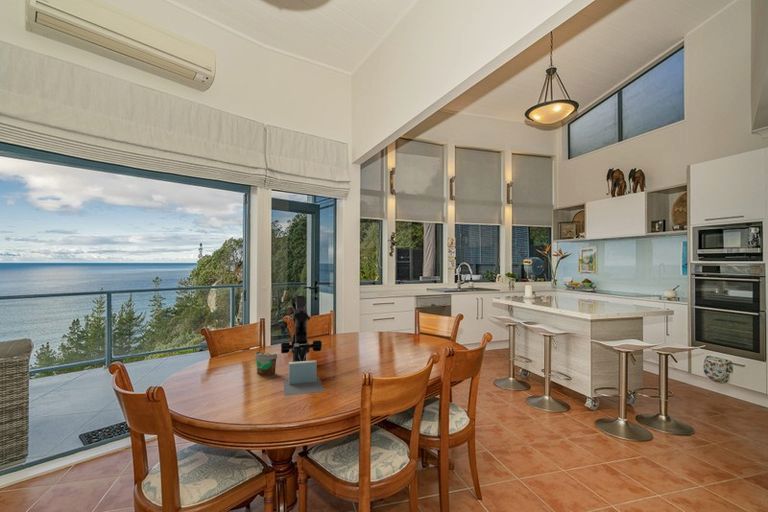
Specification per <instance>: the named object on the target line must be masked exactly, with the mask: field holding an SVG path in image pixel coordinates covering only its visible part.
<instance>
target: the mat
mask: <svg viewBox="0 0 768 512" xmlns="http://www.w3.org/2000/svg"><path fill="white" fill-rule="evenodd" d="M324 392H325V390H324V387H323V383H322V380H321V377H320V376H319V375H318V376H316V382H309V383H298V384H289V378H287V379H283V393H284V394H283V396H285V397H287V396H294V395H295V396H296V395H306V394H315V393H316V394H317V393H324Z"/></svg>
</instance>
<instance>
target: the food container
mask: <svg viewBox="0 0 768 512" xmlns="http://www.w3.org/2000/svg"><path fill="white" fill-rule="evenodd" d="M254 359H255V360H256V361H255V362H256V374H257V375H259V376H271V375H275V374H276V365H277V359H278V355H277V353H274V354H270V353H264V352H261V351H260V350H258V351H256V352H255V355H254Z"/></svg>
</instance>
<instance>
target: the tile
mask: <svg viewBox="0 0 768 512" xmlns="http://www.w3.org/2000/svg"><path fill="white" fill-rule="evenodd" d="M317 362H318V361H317V360H316V359H314V360H312V359H311V360H306V361H299V362H293V361H289V362H288V379H289V384H298V383H309V382H316V377H317V367H318V366H317V365H318V364H317Z"/></svg>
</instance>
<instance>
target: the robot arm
mask: <svg viewBox="0 0 768 512" xmlns="http://www.w3.org/2000/svg"><path fill="white" fill-rule="evenodd" d="M306 305H307V298H306V297H305V296H304V295H295V296H294V297H292V298H290V306H291V307H292V309H291V310H292V312H293V314H292V322H293V323H294V324H295V325H294V334H293V336H292V341H291V343H290V341H283V342H281V344H280V345H281V346H280V347H281V348H280V353H281V354H288V353H289V352H291V354H292V362H299V361H307V354H308V353H310V351H311V350H310V349H311V348H312V351H314V352H320V351H322V345H323V343H322V340H320V339H317V340H315V339H314V340H312V343H310V342H308V327H307V325H308V322H309V321H310V319H311V318H310V315H309V314H308V311H307V310H306V309H305V308H306Z"/></svg>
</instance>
